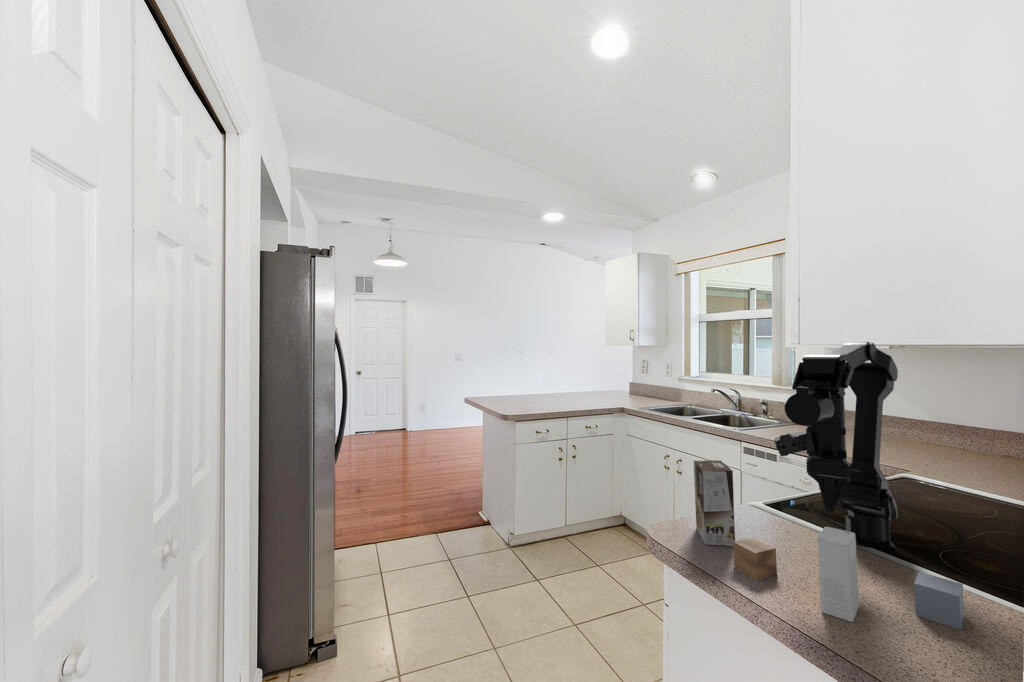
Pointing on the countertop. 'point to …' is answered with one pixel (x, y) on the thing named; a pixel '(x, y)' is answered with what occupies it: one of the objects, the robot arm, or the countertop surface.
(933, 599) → the slate block
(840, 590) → the skincare box
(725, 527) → the coffee box
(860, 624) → the countertop surface
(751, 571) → the walnut block
